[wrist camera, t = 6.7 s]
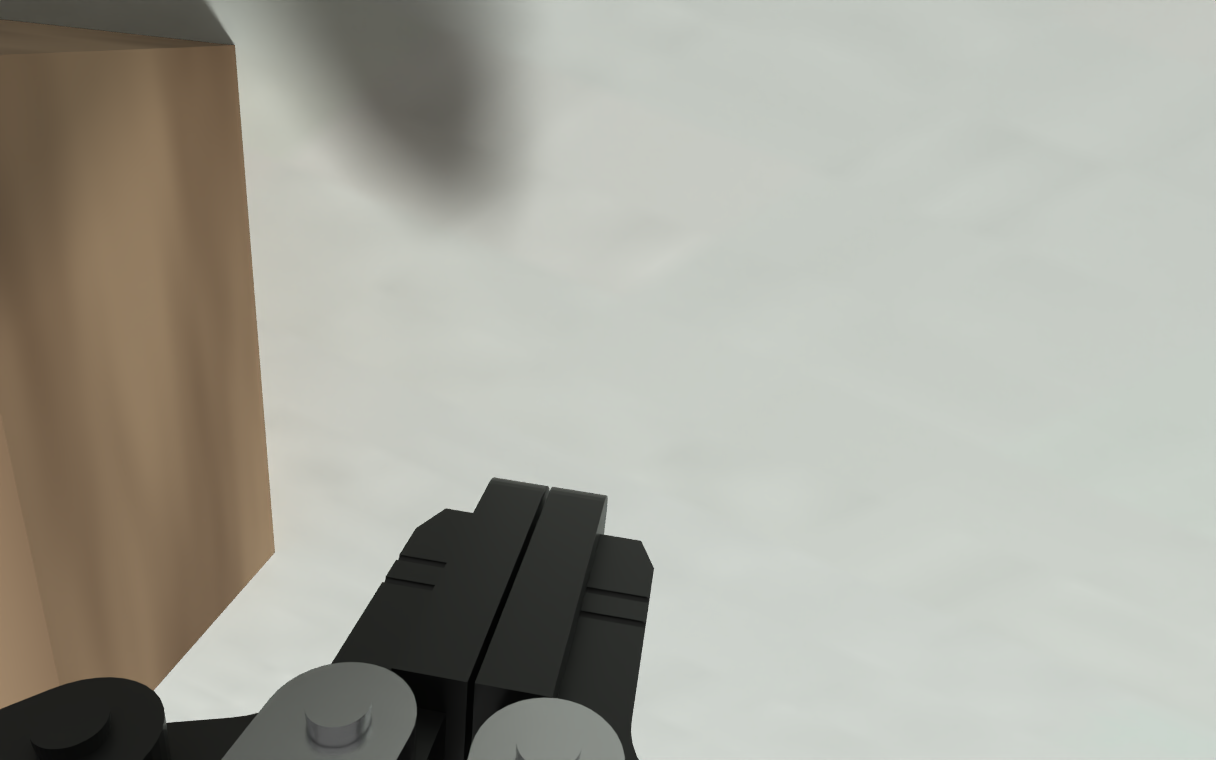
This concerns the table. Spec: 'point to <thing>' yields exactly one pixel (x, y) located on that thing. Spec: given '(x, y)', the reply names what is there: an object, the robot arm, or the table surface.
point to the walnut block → (123, 355)
